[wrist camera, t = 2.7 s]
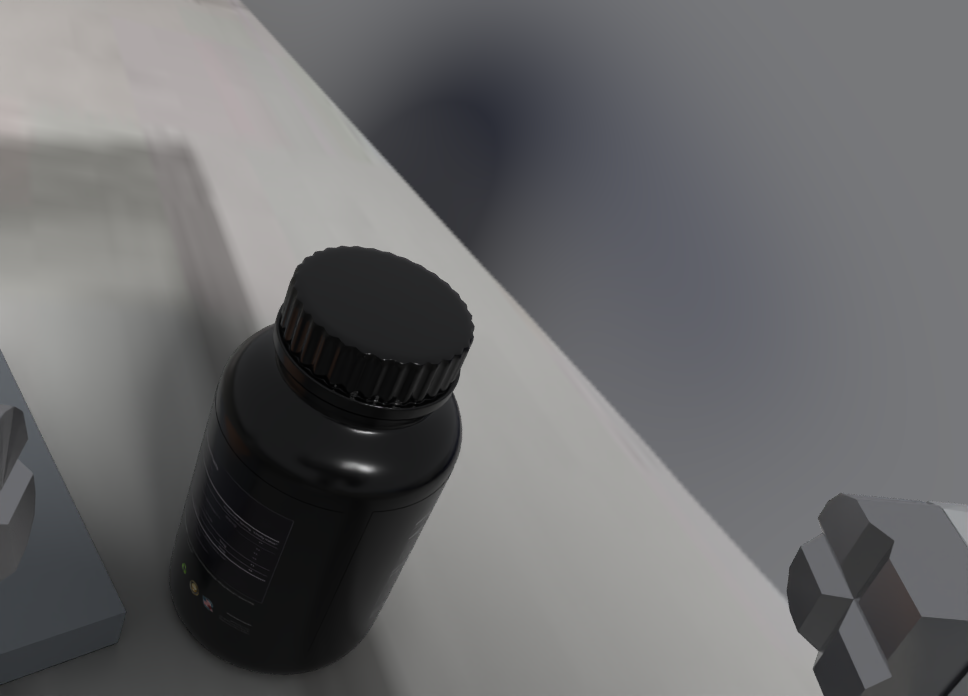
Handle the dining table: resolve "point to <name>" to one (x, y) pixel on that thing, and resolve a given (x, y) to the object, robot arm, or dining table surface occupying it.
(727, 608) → the dining table surface
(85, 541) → the mat
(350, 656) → the dining table surface
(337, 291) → the supplement bottle
